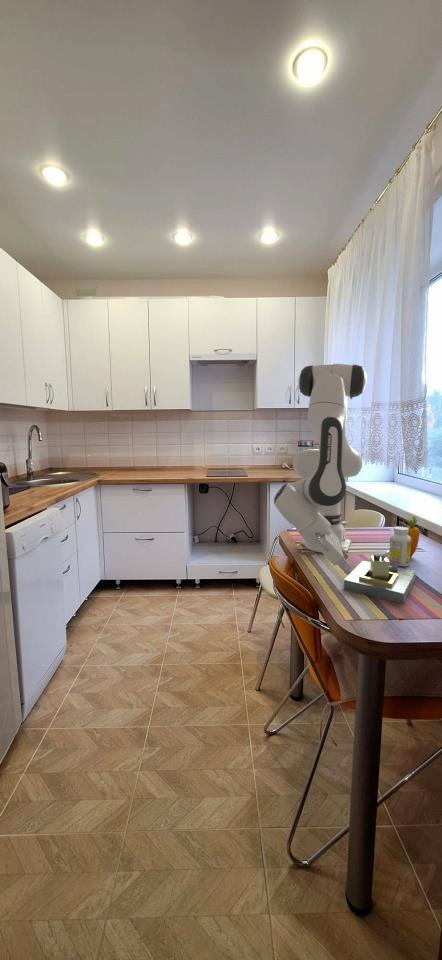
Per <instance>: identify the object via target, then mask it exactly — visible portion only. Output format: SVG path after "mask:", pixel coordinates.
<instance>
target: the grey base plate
mask: <svg viewBox="0 0 442 960" xmlns="http://www.w3.org/2000/svg"><path fill="white" fill-rule="evenodd" d="M416 571H417V570H412V569H407V568H402V567H399V566H398V565H397V564H395V563H392V562H390V563H389V578H388V581H383V580H379V579H374V578H370V561H367V560H362V561H361V562H359V564H358V565H357V566H356V567H355V568H354V569H353V570H352V571H351V572H350V573H349V574H348V575H347V576H345V578H344V579H343V591H344V590H345V591H349V592H353V593H356V594H361V595H366V596H369V597H373V598H377V599H382V600H385V601H389V602H393V603H398V604H404V603H405V601H406V599H407V597H408V595H409V593H410V591H411V590H412V587H413V585H414V583H415V581H416Z"/></svg>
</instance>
